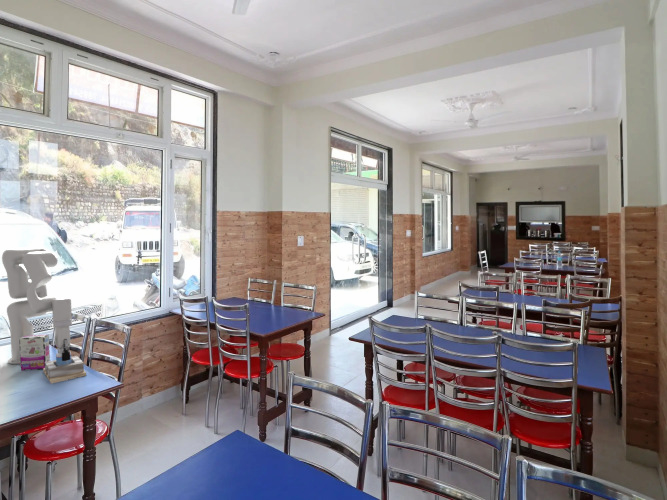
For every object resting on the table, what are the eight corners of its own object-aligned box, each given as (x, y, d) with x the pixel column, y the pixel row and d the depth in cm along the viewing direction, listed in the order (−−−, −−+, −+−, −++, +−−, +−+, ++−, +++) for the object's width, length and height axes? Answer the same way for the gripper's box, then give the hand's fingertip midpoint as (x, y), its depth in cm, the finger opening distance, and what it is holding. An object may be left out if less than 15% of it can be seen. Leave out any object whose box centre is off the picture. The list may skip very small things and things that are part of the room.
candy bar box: (50, 365, 201) (49, 334, 199) (45, 369, 196) (44, 337, 194) (25, 367, 198) (24, 335, 197) (20, 370, 193) (18, 338, 192)
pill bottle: (64, 373, 187) (63, 350, 186) (53, 372, 188) (52, 349, 187) (74, 368, 193) (73, 346, 192) (64, 367, 194) (63, 345, 193)
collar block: (43, 371, 193) (42, 360, 192) (76, 364, 202) (76, 354, 202) (50, 383, 178) (50, 371, 178) (86, 375, 188) (85, 364, 188)
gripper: (49, 321, 192) (51, 355, 193) (56, 328, 180) (58, 364, 181) (67, 318, 197) (69, 351, 199) (75, 325, 185) (77, 360, 186)
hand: (64, 357), depth 190 cm, fingers open, 9 cm apart
